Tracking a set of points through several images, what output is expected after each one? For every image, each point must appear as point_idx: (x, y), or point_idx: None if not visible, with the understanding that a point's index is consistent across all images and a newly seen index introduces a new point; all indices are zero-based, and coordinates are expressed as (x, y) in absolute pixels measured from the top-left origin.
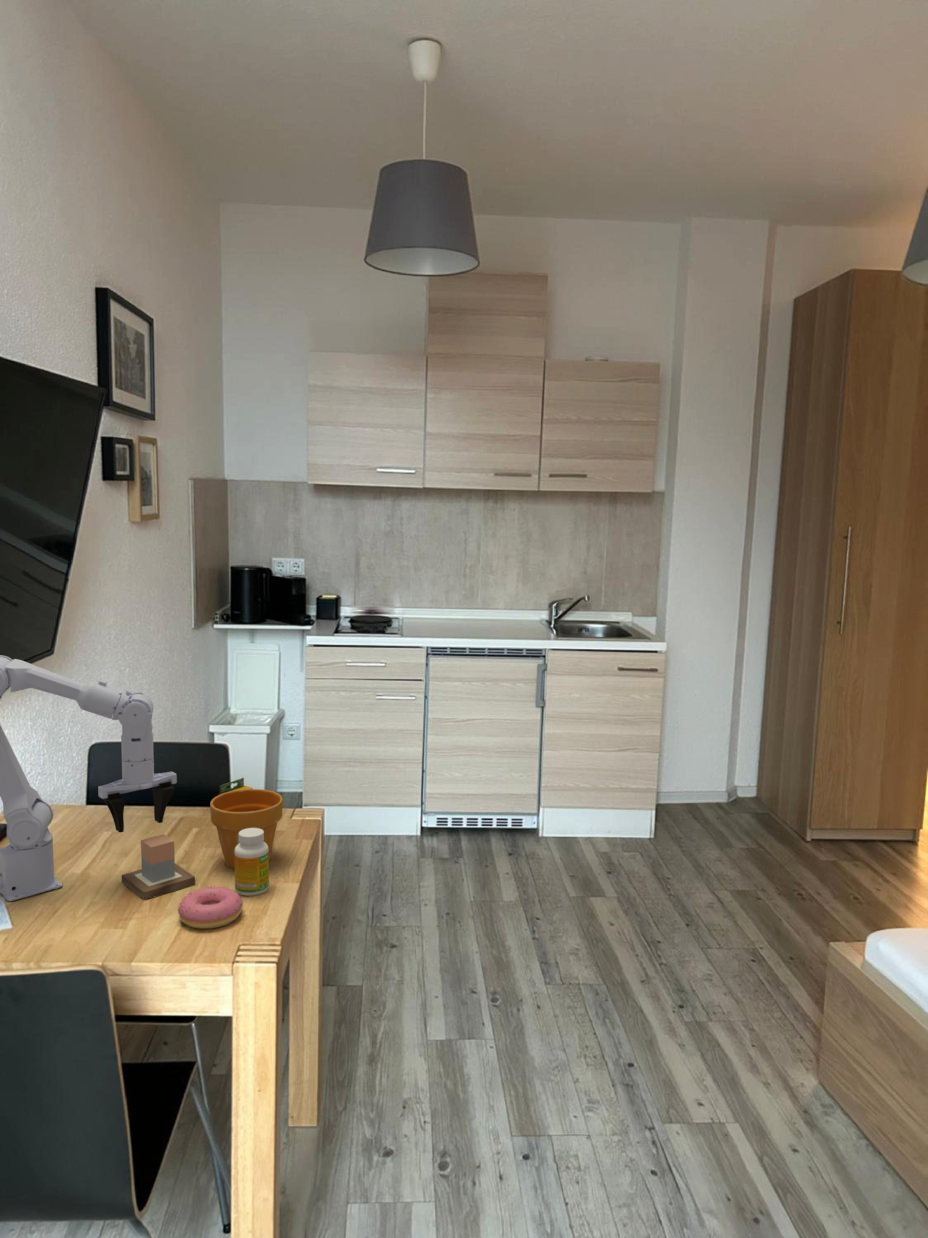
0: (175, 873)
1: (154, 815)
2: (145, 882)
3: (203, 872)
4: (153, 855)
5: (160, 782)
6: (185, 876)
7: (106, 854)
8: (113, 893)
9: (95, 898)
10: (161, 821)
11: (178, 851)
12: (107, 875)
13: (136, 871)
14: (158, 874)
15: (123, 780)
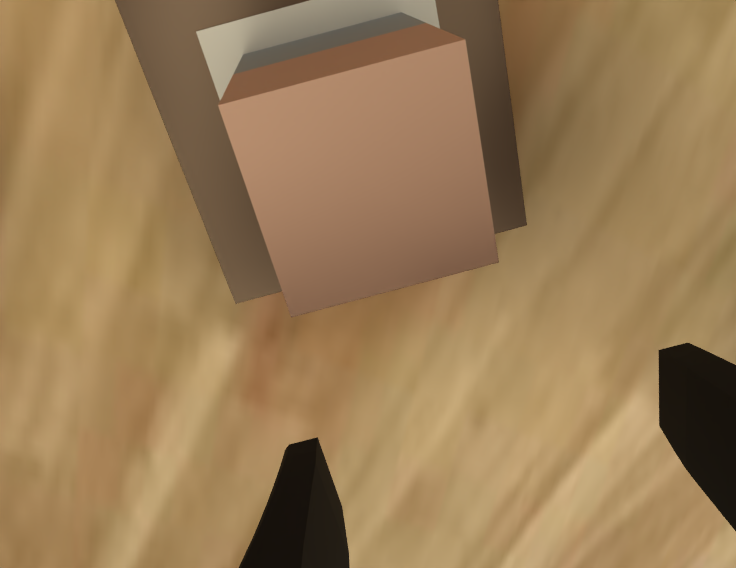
0: None
1: (347, 547)
2: None
3: (56, 151)
4: (423, 34)
5: None
6: (172, 21)
7: (487, 522)
8: (586, 89)
9: (683, 67)
10: (296, 449)
11: (180, 460)
12: (545, 322)
13: None
14: (361, 27)
15: None
